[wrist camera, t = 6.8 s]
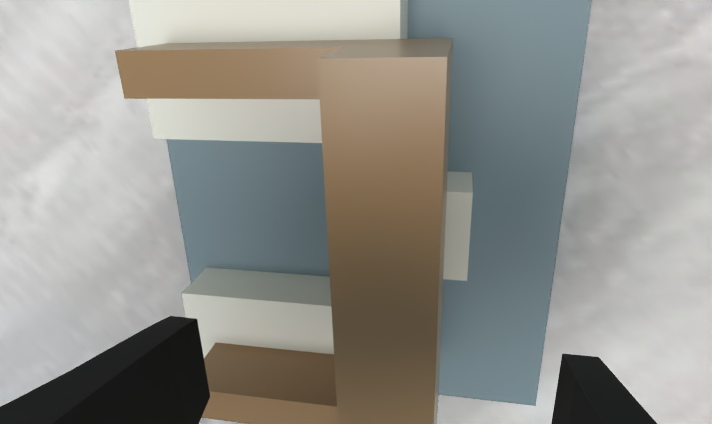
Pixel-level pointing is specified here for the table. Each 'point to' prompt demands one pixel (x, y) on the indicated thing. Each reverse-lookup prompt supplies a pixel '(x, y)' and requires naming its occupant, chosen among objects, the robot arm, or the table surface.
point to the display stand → (307, 190)
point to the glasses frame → (341, 220)
